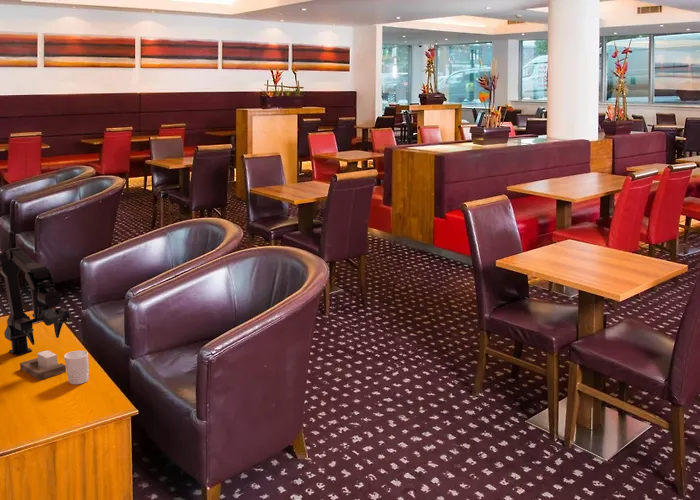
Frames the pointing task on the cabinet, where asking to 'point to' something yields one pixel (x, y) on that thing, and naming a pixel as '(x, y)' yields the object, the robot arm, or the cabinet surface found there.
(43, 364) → the block
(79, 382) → the white cup
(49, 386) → the cabinet surface
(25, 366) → the notched board
